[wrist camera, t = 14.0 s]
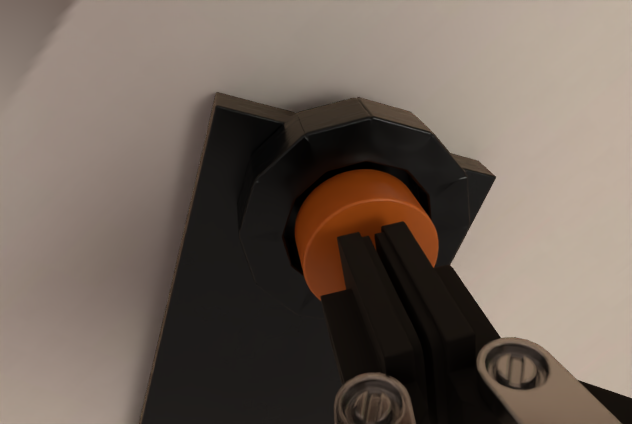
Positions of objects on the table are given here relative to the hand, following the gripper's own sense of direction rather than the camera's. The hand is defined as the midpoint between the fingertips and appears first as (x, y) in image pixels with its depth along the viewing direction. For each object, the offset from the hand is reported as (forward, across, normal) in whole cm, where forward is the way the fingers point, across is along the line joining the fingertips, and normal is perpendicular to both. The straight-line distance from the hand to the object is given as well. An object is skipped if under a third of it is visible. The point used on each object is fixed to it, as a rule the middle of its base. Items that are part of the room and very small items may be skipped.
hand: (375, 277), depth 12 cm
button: (+2, 0, 0) cm, 2 cm away
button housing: (+5, +3, +5) cm, 8 cm away
